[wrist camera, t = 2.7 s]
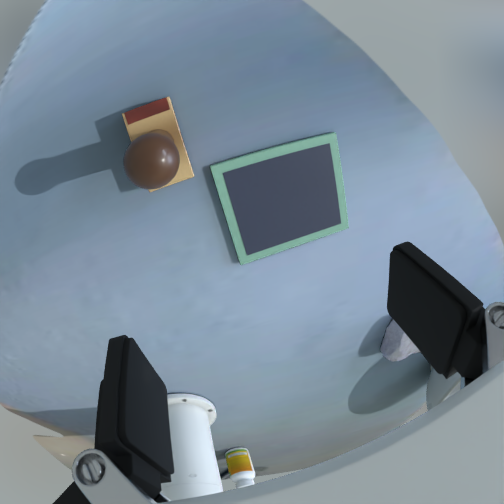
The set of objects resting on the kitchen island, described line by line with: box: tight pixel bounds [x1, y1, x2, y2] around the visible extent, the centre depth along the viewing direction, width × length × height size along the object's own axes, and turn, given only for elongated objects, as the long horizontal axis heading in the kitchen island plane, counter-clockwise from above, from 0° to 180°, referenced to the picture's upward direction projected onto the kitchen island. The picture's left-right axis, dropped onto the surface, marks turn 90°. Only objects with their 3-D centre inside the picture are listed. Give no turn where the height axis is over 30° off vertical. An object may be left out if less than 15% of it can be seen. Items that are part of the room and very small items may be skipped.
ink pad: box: [210, 132, 349, 265], centre depth 34 cm, size 14×12×1 cm
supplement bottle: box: [225, 447, 255, 488], centre depth 55 cm, size 5×5×10 cm
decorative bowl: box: [426, 366, 461, 411], centre depth 58 cm, size 27×27×12 cm
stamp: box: [122, 97, 194, 192], centre depth 23 cm, size 8×4×12 cm, turn 14°
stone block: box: [380, 319, 421, 361], centre depth 50 cm, size 12×5×10 cm
